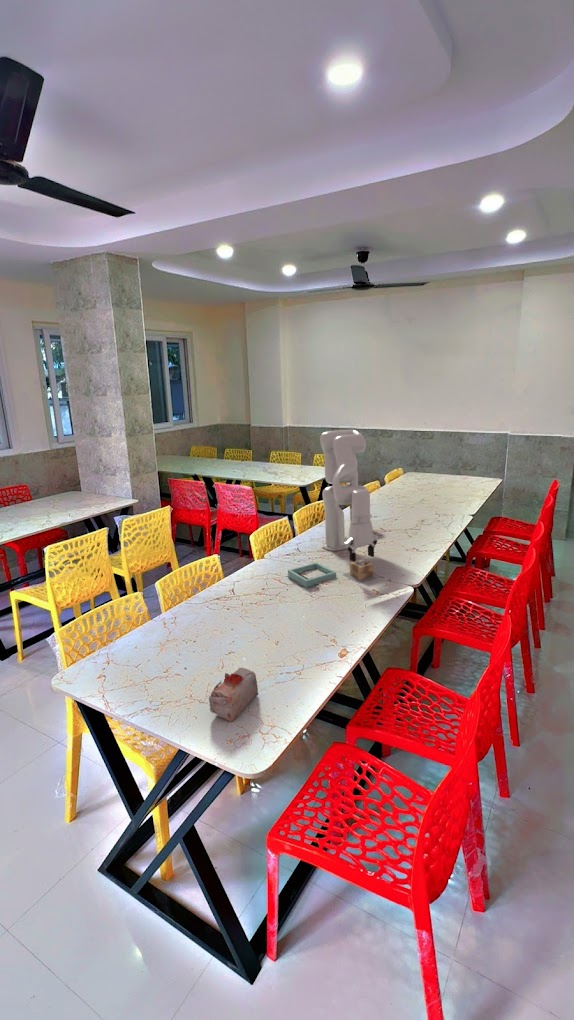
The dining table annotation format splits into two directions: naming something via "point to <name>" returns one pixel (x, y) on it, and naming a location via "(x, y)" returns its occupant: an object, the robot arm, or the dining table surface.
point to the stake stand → (362, 579)
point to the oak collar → (361, 570)
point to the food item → (233, 694)
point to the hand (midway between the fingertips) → (362, 558)
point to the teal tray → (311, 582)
